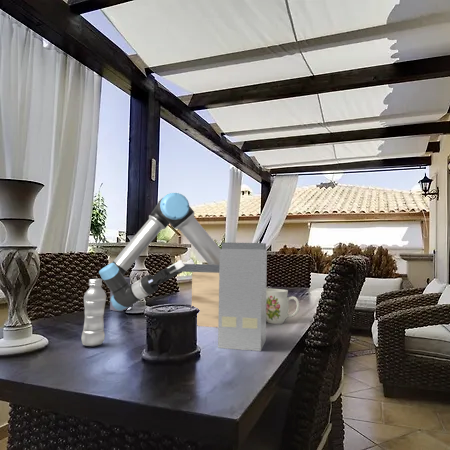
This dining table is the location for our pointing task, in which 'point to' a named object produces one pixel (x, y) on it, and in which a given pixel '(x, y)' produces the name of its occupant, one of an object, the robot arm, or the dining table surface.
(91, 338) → the plastic bottle
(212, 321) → the oak side stand
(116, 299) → the robot arm
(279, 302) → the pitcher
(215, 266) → the bar
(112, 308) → the container
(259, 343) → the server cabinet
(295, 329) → the dining table surface
